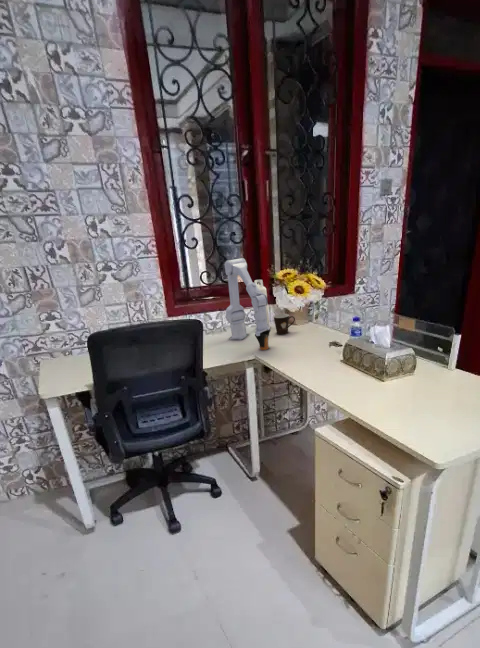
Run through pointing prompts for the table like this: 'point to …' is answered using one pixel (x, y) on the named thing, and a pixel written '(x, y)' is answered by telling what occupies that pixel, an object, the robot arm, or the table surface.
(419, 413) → the table surface
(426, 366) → the table surface
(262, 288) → the bottle
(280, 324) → the coffee mug
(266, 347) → the amber jar
